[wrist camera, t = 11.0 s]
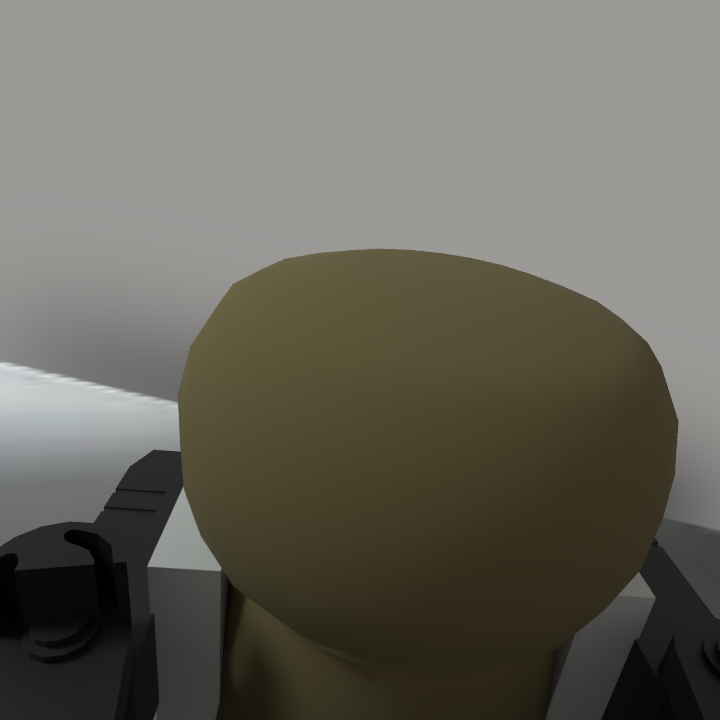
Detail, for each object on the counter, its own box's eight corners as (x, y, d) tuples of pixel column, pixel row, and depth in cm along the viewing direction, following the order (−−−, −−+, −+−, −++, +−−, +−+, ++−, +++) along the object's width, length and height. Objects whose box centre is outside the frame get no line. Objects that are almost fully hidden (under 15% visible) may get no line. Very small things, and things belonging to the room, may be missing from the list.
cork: (219, 1319, 6) (232, 531, 2) (139, 775, 11) (90, 209, 7) (590, 974, 9) (942, 352, 5) (396, 665, 14) (479, 219, 9)
